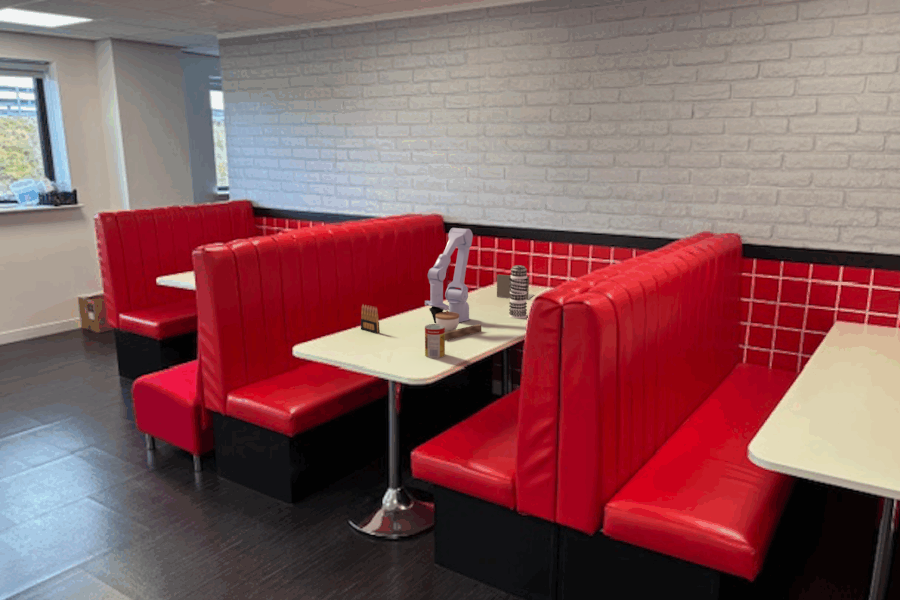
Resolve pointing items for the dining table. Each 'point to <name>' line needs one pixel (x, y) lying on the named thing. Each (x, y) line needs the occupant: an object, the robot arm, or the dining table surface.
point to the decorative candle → (518, 291)
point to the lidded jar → (448, 320)
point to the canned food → (434, 341)
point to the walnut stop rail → (462, 332)
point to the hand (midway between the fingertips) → (436, 322)
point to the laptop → (504, 288)
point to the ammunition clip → (370, 319)
